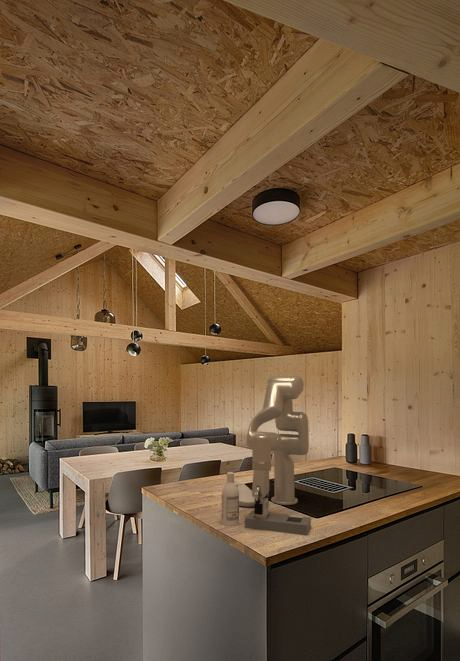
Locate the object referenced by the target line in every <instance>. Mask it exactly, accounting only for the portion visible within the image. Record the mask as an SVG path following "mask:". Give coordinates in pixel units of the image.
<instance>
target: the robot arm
mask: <svg viewBox="0 0 460 661" xmlns="http://www.w3.org/2000/svg"><path fill="white" fill-rule="evenodd" d="M304 387H305V385H304V380H303V378H302V377H301V376H299V375H275V376H271V377H269V378H267V386H266V390H265V394H264V401H263V405H262V409H261V410H260V411H259V412H258V413H256V414H255V416H253V418H252V419H251V421H250V423H249V426H248V428H247V429H248V431H247V435H246V445H247V447H248V448H249V449H250V450H251V451H252V452H251V453H252V454H251V456H252V457H251V458H252V459H251V460H252V463H251V464H252V466H251V467H252V471H253V473H252V484H251V485H252V489H251V490H252V496H253V497H254V496H255V499H254V500H255V501H254V506H253V509H254V510H253V511H254V514H258V515H262V514H263V504H262V499H263V498H268V501H269V499H270V498H269V496H270V494H269V493H270V472H271V470H272V452H273V462H274V463H273V464H274V468H273V469H274V470H273V471H274V476H273V477H274V480H273V481H274V496H272V497H271V502H272V503H274V504H276V505H283V506H287V505H288V506H290V505H291V506H292V505H296V504H297V503H299V502H298V501H299V499H298V498H297V497H295V464H294V460H293V459H292V457H291V455H293V456H306V455H307V454H308V453H309V449H310V446H309V445H310V444H309V442H310V441H309V439H310V438H309V437H310V436H309V434H310V433H309V431H310V430H309V419H308V418H309V417H308V415H307V414H306V412H303V411H294V410H293V408H294V407H293V400H297V399H298V398H299V396H300V395H301V394H302V392H303V390H304ZM273 420H274V422H275V427H276V429H277V430H278V431H281V432H283V431H284V432H292V433H293V432H296V433H298V434H296V433H295V434H292V433H276V432H270V431H268V432H267V431H258V430H259V428H260V427H261V426H262V425H263V424H265V423H268V422H270V421H273ZM269 502H270V501H269Z"/></svg>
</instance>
